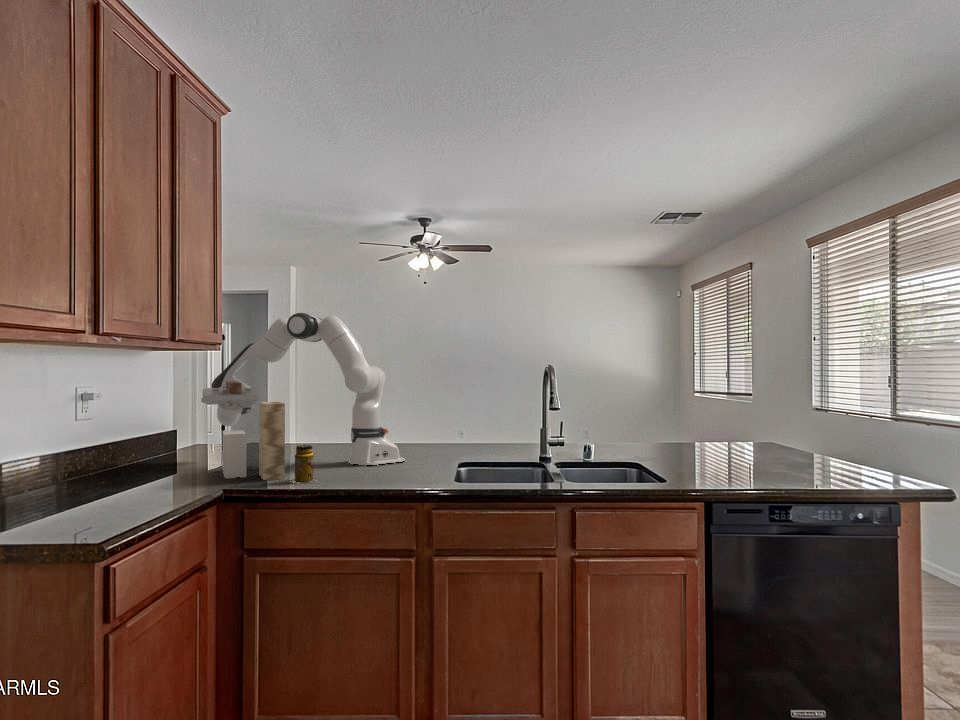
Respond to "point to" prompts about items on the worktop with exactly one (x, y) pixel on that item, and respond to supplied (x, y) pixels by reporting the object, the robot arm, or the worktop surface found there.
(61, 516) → the worktop surface
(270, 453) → the stand
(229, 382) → the bar
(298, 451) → the condiment
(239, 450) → the step
